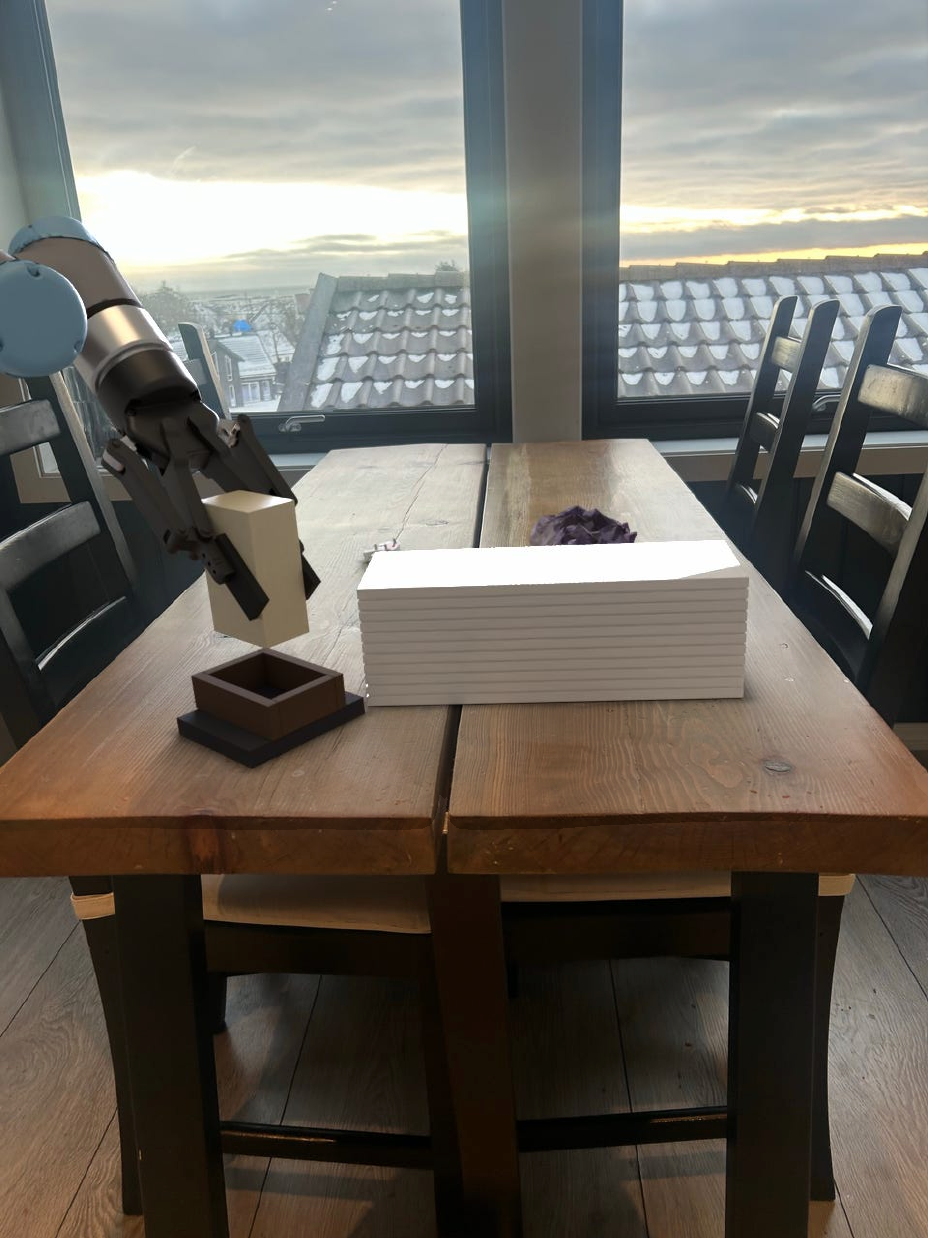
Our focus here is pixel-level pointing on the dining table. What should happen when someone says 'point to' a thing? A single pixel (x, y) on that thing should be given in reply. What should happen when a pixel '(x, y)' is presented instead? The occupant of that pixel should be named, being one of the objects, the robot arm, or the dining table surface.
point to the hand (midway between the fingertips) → (285, 600)
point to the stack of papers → (554, 624)
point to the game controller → (383, 549)
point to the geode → (579, 529)
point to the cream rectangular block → (260, 567)
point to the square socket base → (266, 705)
